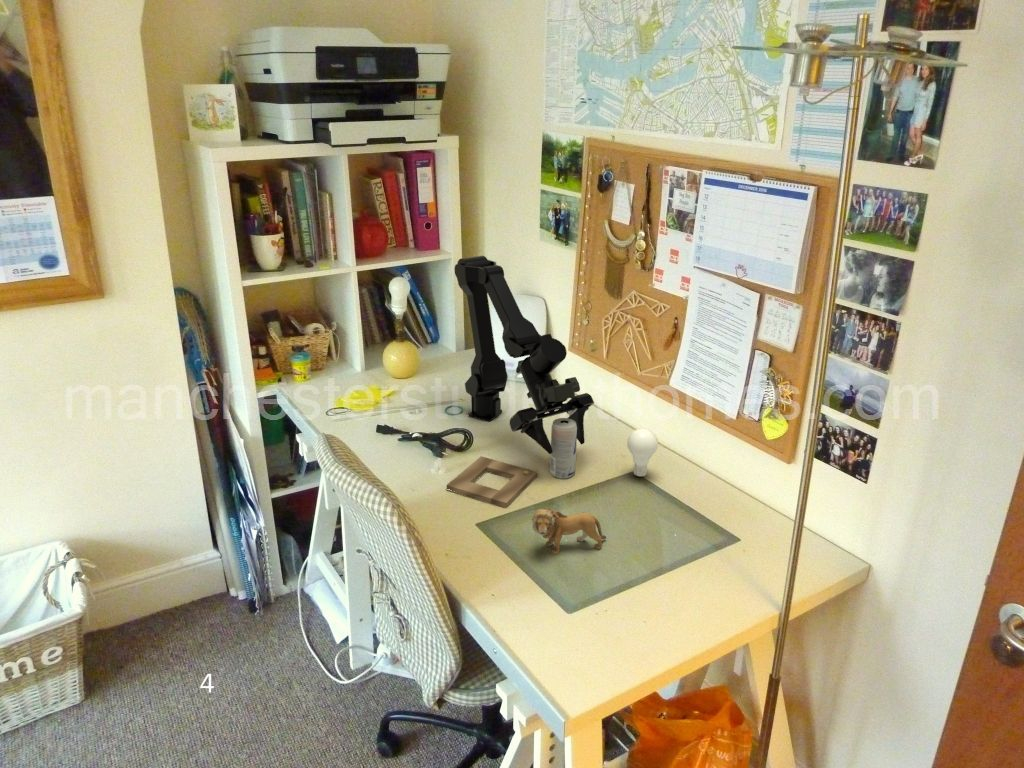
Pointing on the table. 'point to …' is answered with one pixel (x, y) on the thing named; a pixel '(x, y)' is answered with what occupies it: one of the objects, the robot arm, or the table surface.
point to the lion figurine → (565, 527)
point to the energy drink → (563, 448)
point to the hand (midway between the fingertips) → (567, 448)
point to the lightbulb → (642, 449)
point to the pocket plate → (497, 497)
